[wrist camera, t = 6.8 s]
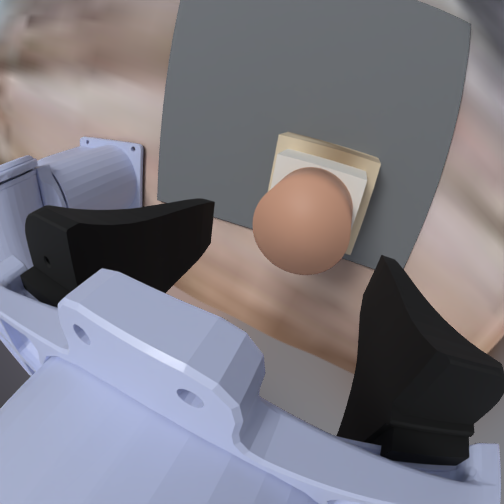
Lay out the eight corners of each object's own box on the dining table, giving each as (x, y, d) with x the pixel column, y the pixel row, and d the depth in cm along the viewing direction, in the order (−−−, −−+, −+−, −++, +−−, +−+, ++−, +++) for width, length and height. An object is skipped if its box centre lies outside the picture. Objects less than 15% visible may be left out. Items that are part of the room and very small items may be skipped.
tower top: (273, 219, 20) (261, 234, 18) (287, 148, 17) (277, 154, 15) (343, 242, 19) (340, 260, 16) (366, 171, 16) (367, 180, 14)
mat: (159, 198, 26) (157, 200, 26) (188, -21, 15) (185, -22, 15) (398, 274, 21) (398, 277, 21) (469, 25, 10) (470, 23, 10)
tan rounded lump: (268, 231, 17) (247, 259, 14) (280, 158, 15) (259, 171, 12) (340, 253, 16) (334, 286, 13) (361, 179, 14) (362, 198, 11)
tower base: (271, 213, 22) (260, 225, 20) (288, 131, 19) (278, 134, 17) (352, 239, 21) (350, 255, 19) (378, 157, 17) (380, 163, 15)
